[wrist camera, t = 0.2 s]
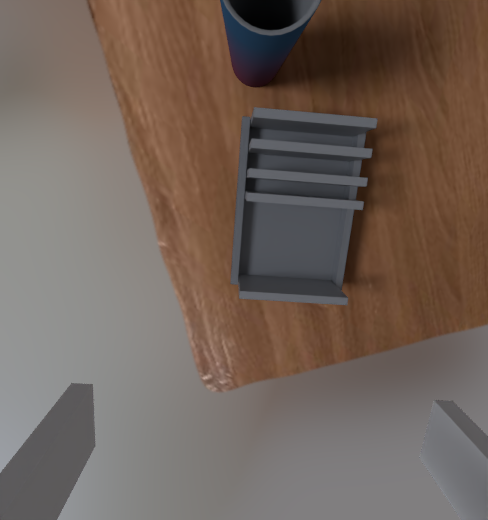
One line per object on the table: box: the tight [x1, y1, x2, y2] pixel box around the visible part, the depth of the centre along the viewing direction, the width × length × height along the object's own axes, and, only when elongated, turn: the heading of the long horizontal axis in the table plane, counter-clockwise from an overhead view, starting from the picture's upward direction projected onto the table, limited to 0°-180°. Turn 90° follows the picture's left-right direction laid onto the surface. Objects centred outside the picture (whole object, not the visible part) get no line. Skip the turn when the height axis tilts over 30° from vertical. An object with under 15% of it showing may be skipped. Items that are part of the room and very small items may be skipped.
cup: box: [220, 0, 321, 87], centre depth 27 cm, size 7×7×15 cm
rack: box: [231, 107, 377, 305], centre depth 34 cm, size 18×13×7 cm
